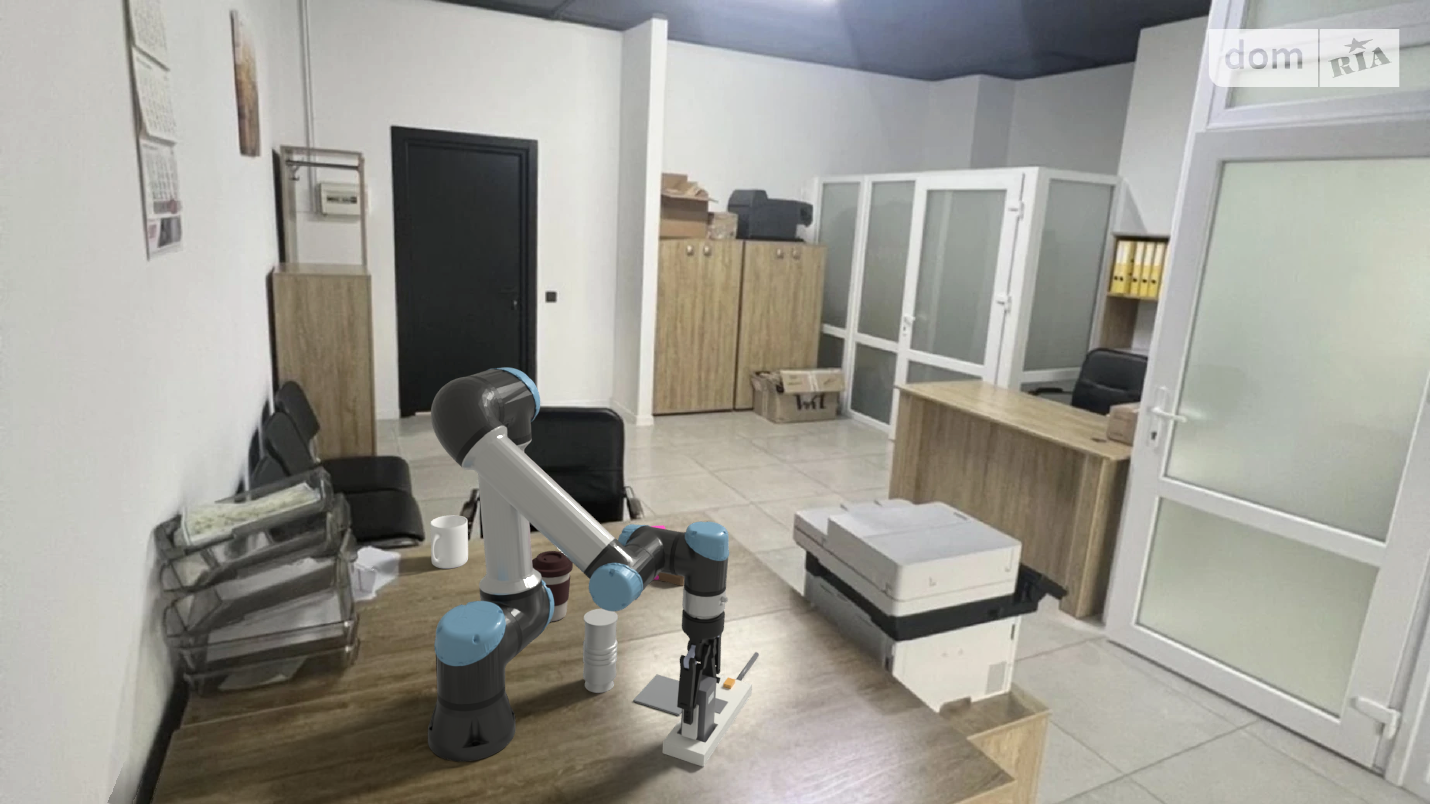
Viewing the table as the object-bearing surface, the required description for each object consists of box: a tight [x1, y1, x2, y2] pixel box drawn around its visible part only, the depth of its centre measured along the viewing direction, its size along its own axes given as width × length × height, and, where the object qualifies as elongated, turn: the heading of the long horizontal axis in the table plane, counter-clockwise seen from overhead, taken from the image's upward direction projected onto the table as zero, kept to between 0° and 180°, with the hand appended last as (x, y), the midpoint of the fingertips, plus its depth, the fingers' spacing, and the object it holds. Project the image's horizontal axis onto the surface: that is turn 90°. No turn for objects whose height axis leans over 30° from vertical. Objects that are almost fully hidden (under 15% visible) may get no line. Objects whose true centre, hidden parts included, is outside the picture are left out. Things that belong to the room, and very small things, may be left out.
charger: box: [680, 675, 717, 743], centre depth 139 cm, size 5×5×12 cm
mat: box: [633, 673, 682, 717], centre depth 153 cm, size 10×10×1 cm
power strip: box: [662, 651, 760, 768], centre depth 152 cm, size 38×8×3 cm, turn 157°
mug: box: [429, 514, 469, 570], centre depth 205 cm, size 10×12×12 cm
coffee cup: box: [532, 550, 574, 623], centre depth 181 cm, size 10×10×15 cm
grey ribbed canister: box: [582, 608, 619, 694], centre depth 154 cm, size 7×7×15 cm
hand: (697, 725), depth 140 cm, fingers open, 6 cm apart
